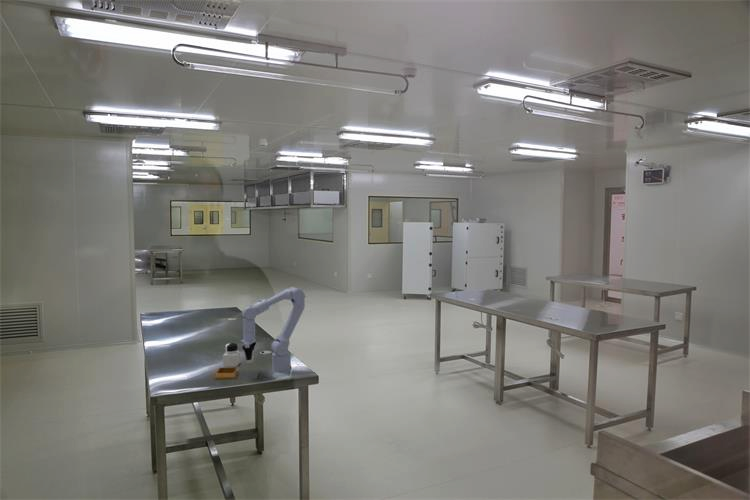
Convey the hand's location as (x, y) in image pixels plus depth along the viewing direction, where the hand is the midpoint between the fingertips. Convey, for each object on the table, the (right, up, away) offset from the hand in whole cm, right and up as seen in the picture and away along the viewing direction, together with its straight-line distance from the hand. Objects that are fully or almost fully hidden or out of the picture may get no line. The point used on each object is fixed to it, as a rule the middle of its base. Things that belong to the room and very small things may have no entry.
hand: (249, 358), depth 239 cm
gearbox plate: (-6, -9, 0) cm, 11 cm away
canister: (0, -2, 0) cm, 2 cm away
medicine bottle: (-14, -8, +17) cm, 24 cm away
